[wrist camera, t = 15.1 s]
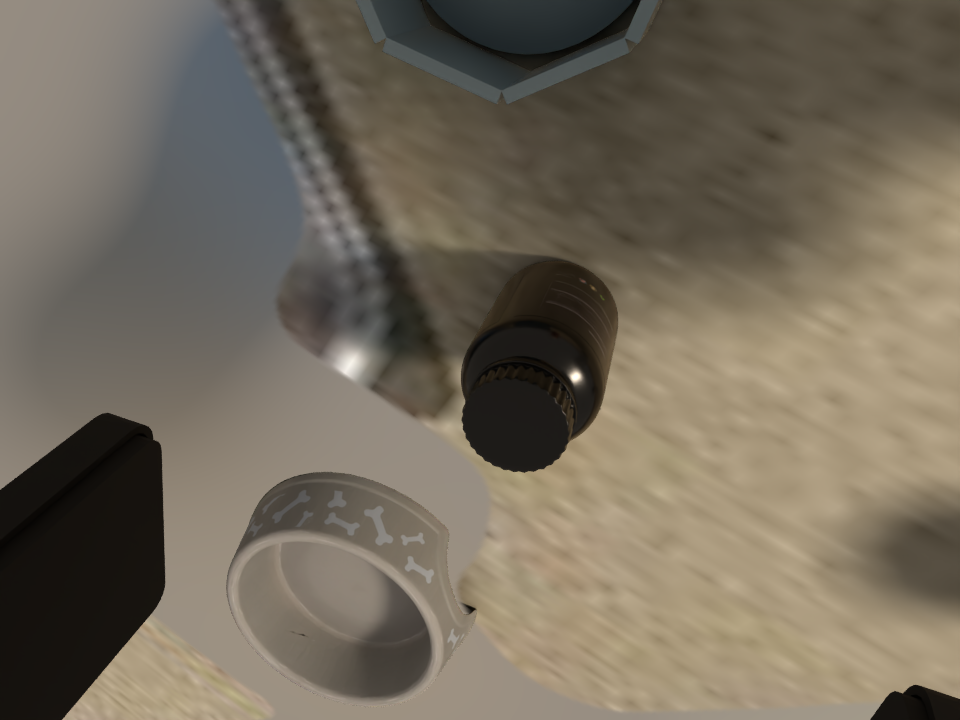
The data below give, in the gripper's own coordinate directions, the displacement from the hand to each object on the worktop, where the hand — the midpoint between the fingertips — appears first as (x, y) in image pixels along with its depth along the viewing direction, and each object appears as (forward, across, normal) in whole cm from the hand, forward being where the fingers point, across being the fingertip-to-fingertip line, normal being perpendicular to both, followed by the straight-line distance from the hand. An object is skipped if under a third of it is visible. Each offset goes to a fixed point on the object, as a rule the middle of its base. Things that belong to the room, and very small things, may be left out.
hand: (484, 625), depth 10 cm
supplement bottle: (+32, +2, +11) cm, 34 cm away
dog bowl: (+33, +11, +36) cm, 50 cm away
